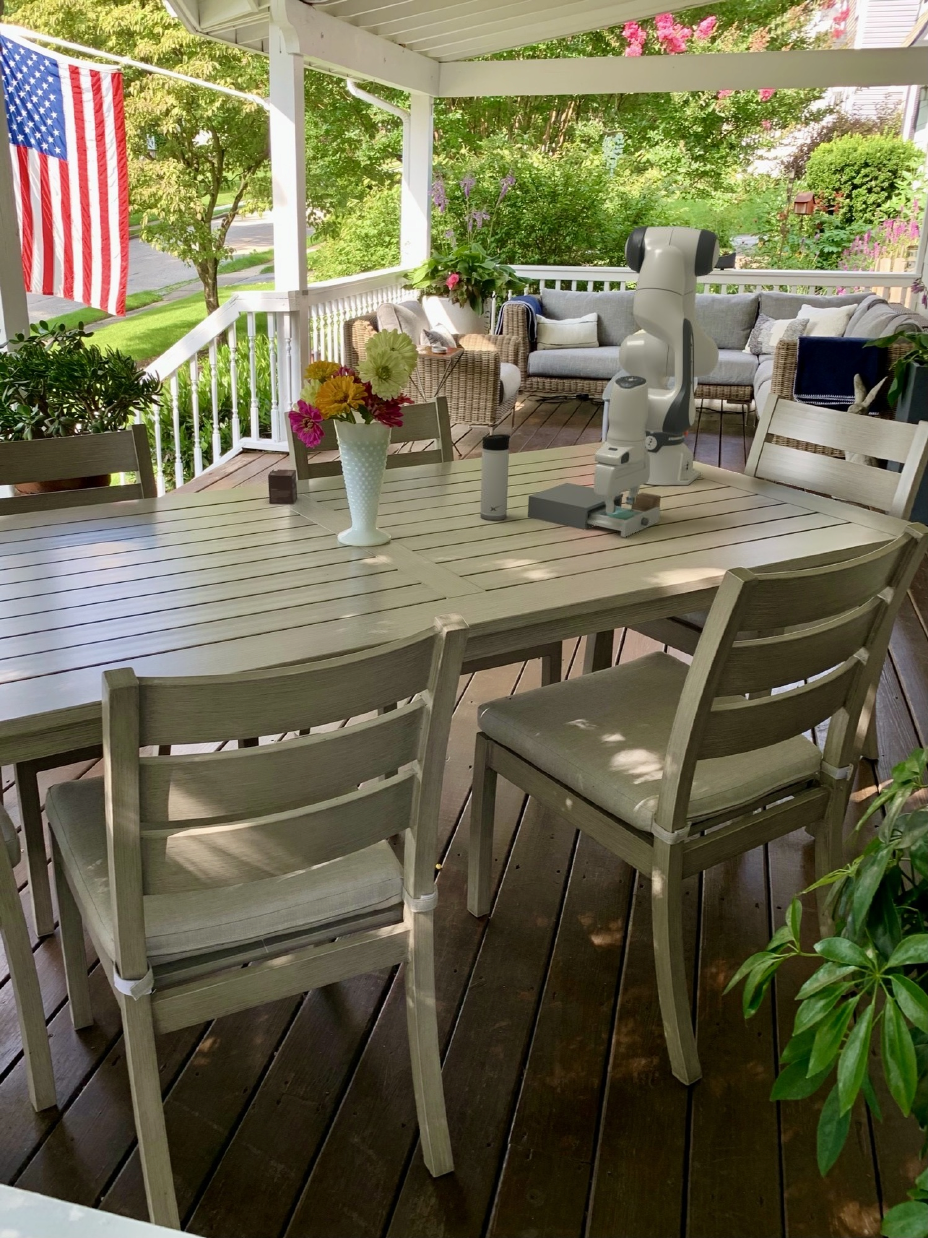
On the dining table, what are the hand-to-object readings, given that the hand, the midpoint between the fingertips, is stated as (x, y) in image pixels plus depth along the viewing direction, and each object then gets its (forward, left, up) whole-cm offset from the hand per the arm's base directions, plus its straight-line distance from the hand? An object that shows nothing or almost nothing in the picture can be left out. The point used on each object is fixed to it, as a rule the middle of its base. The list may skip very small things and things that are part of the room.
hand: (620, 508), depth 237 cm
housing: (0, -12, -4) cm, 13 cm away
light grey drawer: (0, -1, -4) cm, 4 cm away
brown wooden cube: (-11, +1, -4) cm, 12 cm away
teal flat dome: (0, 0, -2) cm, 2 cm away
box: (+37, -74, -4) cm, 83 cm away
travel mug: (+14, -26, -4) cm, 30 cm away
